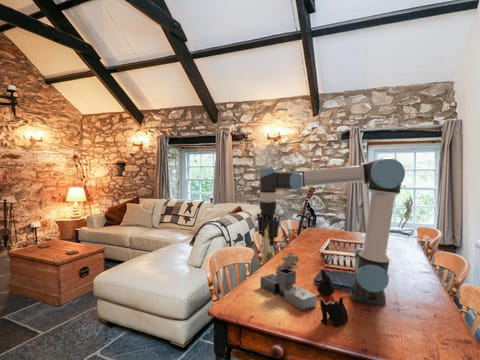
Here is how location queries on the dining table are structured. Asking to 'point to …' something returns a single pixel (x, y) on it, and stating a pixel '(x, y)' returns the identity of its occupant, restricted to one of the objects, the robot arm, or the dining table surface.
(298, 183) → the robot arm
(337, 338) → the dining table surface
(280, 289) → the hinge base
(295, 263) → the vertebra
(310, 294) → the grey flat block
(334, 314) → the figurine
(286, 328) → the dining table surface
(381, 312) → the dining table surface
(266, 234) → the pin
